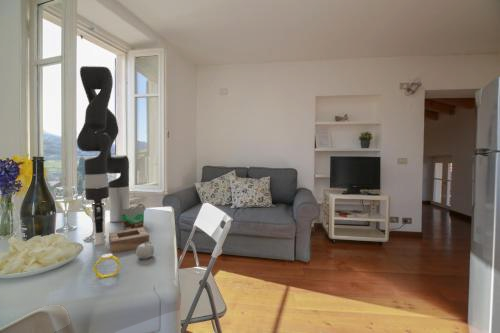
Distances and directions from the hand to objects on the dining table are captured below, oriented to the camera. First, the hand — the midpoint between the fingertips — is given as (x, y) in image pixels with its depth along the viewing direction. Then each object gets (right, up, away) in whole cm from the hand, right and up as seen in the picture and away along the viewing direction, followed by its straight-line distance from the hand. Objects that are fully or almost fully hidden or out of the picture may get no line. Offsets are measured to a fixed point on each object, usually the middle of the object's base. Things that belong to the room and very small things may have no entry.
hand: (99, 230), depth 92 cm
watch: (+18, -6, -25) cm, 32 cm away
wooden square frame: (+12, -5, -2) cm, 13 cm away
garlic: (+23, -5, -13) cm, 27 cm away
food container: (+6, -4, +18) cm, 20 cm away
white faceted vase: (0, -5, 0) cm, 5 cm away
